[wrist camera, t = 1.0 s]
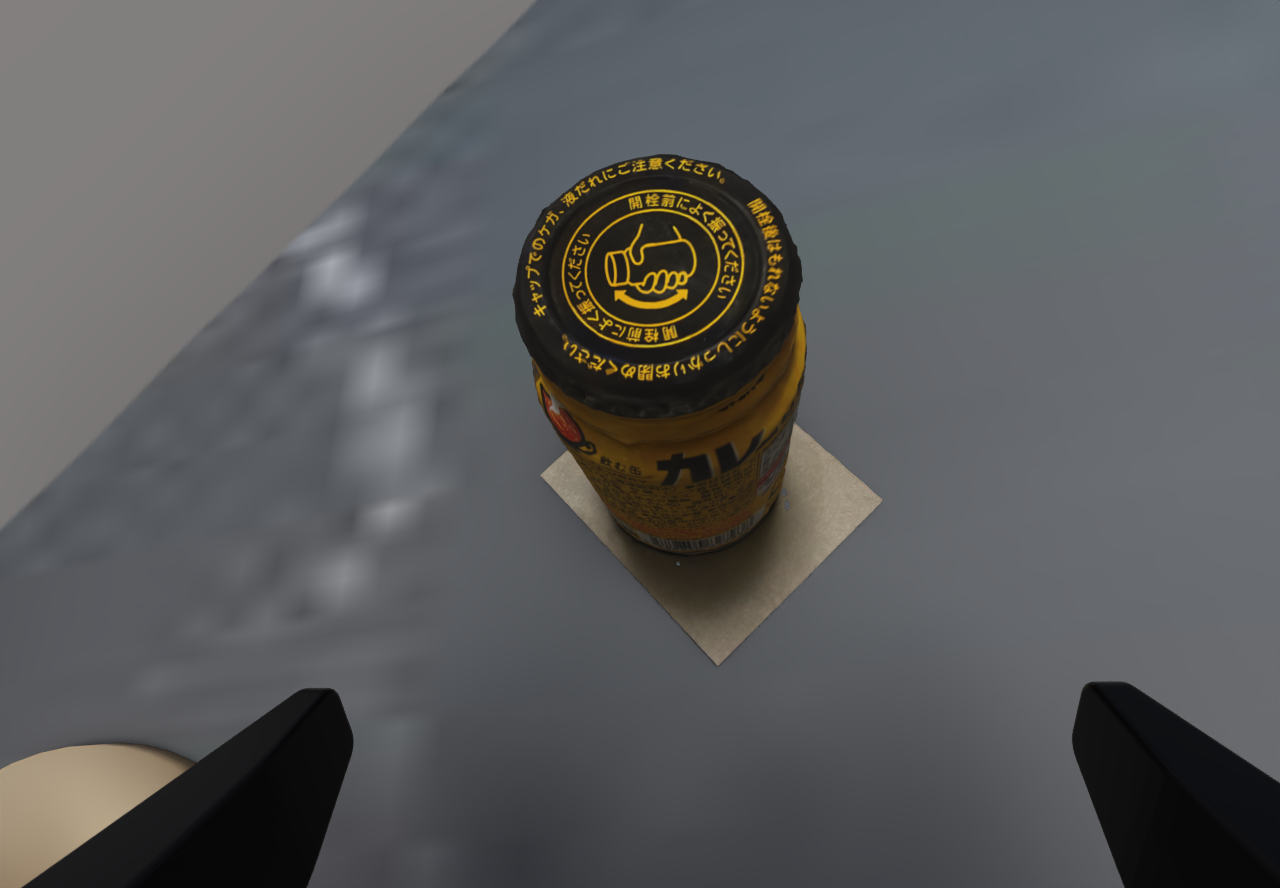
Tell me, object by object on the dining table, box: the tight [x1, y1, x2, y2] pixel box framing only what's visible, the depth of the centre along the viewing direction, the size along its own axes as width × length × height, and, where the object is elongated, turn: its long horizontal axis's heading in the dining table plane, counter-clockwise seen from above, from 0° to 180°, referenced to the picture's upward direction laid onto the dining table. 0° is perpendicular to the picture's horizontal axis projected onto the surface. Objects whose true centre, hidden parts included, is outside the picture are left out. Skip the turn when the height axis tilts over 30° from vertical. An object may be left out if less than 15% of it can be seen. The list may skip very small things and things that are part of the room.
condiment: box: [512, 154, 882, 666], centre depth 18 cm, size 7×8×12 cm
